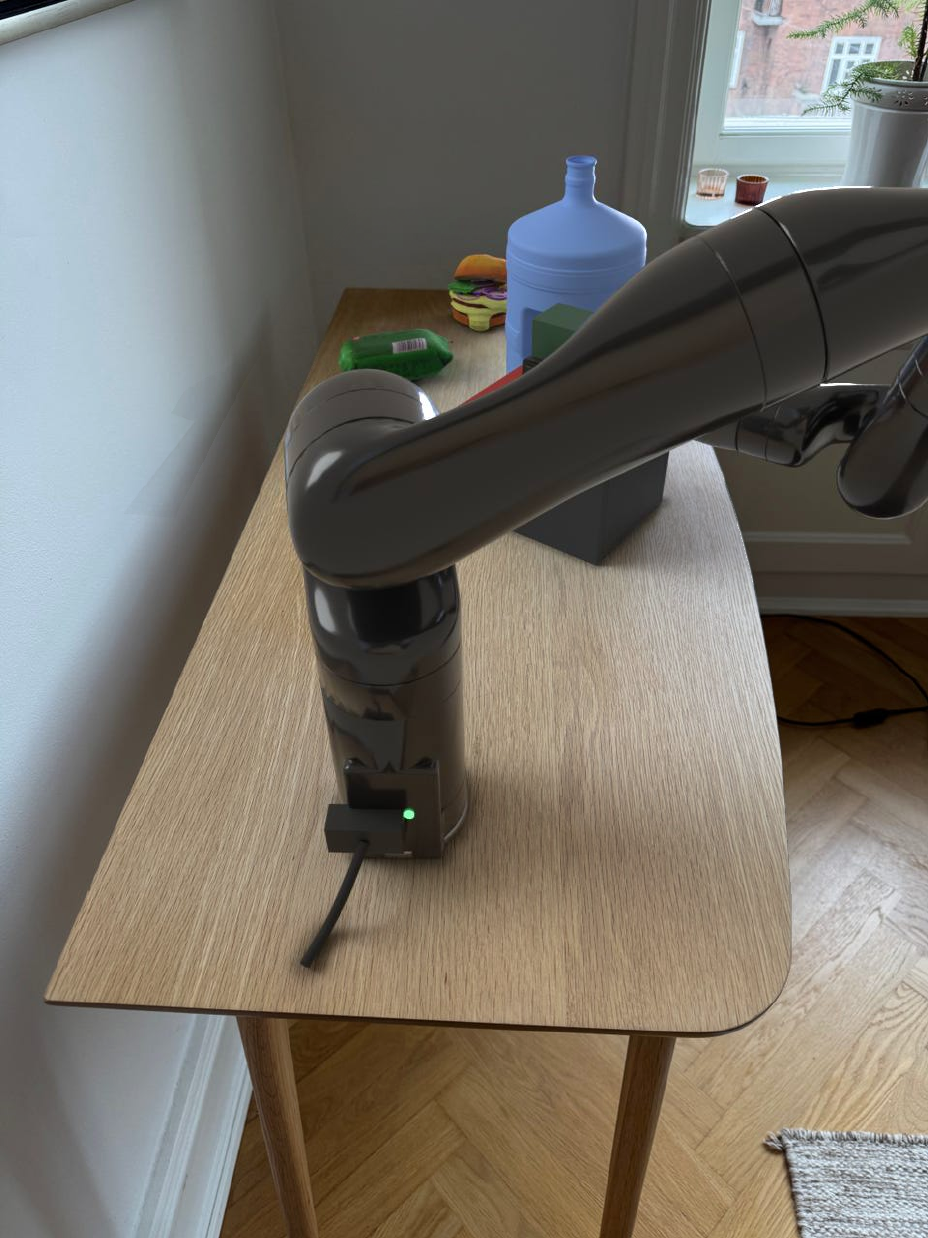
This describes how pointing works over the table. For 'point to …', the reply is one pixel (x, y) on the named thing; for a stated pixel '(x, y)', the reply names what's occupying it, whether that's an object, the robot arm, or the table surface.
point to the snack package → (398, 353)
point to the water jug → (567, 257)
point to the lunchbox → (601, 513)
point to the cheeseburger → (480, 292)
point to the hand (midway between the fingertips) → (549, 350)
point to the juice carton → (555, 328)
